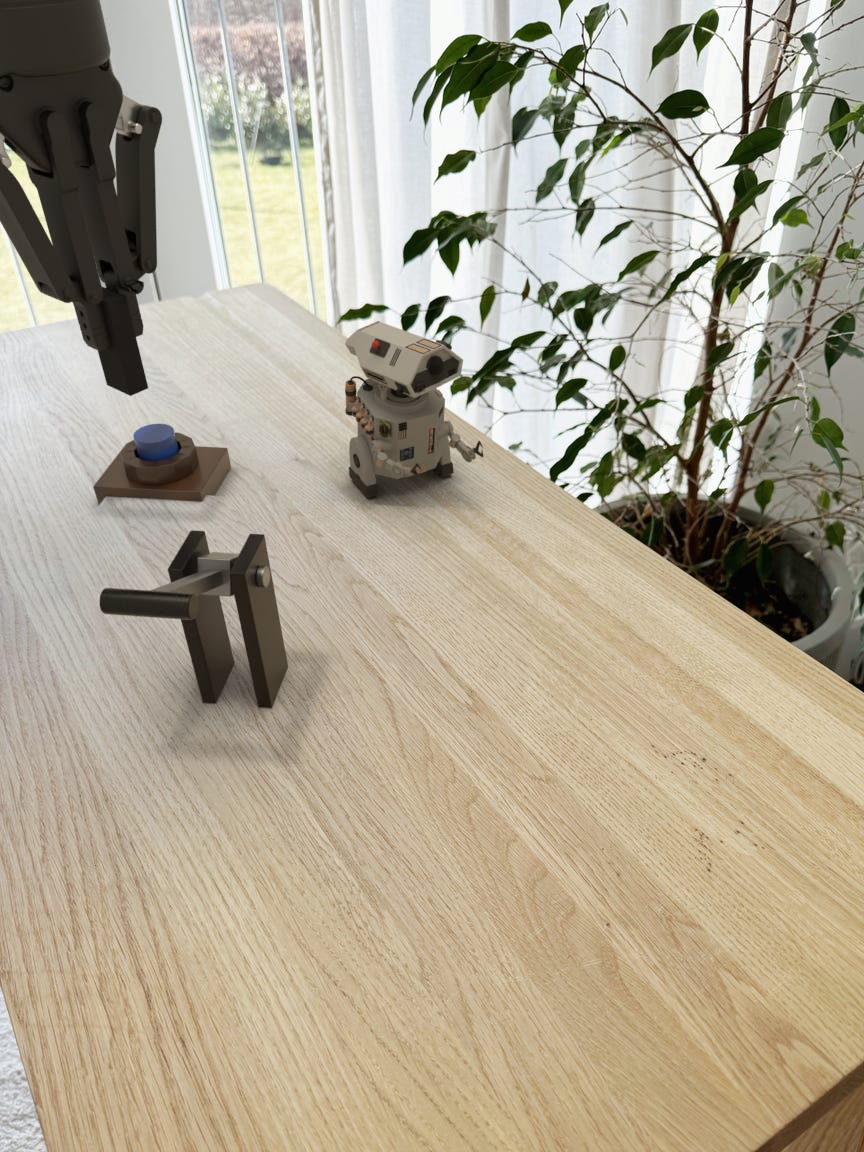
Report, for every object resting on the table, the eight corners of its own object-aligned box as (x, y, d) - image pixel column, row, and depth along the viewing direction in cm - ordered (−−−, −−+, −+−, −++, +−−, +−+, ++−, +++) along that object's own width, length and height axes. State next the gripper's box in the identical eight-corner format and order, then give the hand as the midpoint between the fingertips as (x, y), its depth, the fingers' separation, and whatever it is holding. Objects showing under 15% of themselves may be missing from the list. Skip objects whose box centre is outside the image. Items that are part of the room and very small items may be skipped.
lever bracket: (284, 751, 68) (255, 603, 60) (171, 742, 69) (126, 595, 61) (319, 655, 76) (298, 511, 67) (217, 648, 76) (182, 505, 68)
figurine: (393, 532, 88) (381, 372, 78) (343, 473, 96) (326, 320, 86) (484, 504, 91) (483, 348, 82) (429, 449, 99) (421, 300, 89)
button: (132, 462, 91) (126, 441, 89) (147, 442, 93) (141, 422, 92) (170, 464, 90) (165, 443, 89) (184, 444, 93) (179, 424, 92)
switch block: (98, 507, 92) (87, 469, 89) (132, 462, 98) (122, 425, 95) (204, 513, 91) (196, 474, 88) (231, 467, 97) (224, 430, 94)
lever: (188, 631, 54) (188, 587, 53) (99, 625, 54) (97, 581, 54) (266, 591, 66) (266, 555, 66) (193, 586, 67) (192, 550, 66)
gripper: (-55, 6, 49) (77, 439, 64) (164, -26, 56) (235, 368, 72) (-129, -7, 52) (13, 406, 68) (86, -35, 60) (170, 341, 75)
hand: (127, 386), depth 70 cm, fingers closed
